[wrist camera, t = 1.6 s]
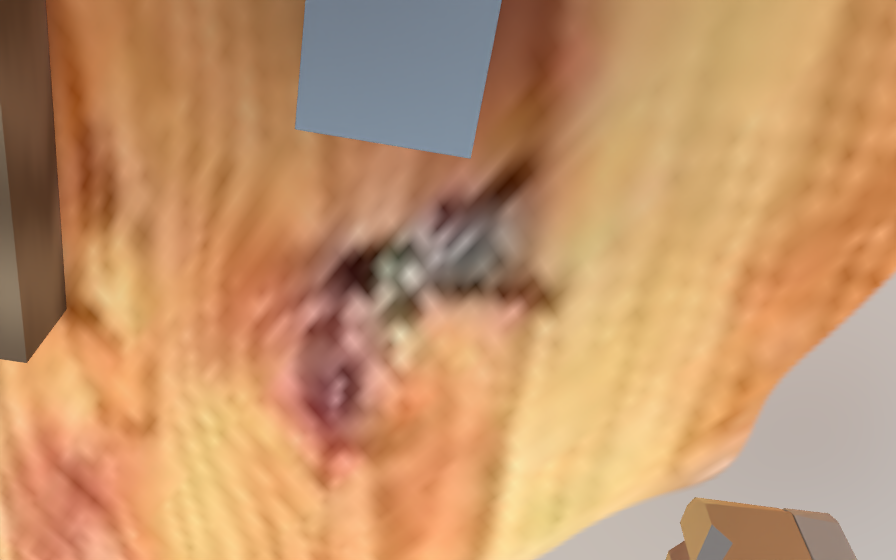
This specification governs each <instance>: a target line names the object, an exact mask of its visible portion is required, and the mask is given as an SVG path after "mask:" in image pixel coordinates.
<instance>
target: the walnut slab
mask: <svg viewBox="0 0 896 560" xmlns="http://www.w3.org/2000/svg"><path fill="white" fill-rule="evenodd" d="M65 311H66V294H65V279H64V264H63V249H62V235H61V220H60V205H59V190H58V175H57V160H56V145H55V130H54V116H53V101H52V86H51V71H50V56H49V41H48V26H47V11H46V0H0V359H4V360H10V361H17V362H24V363H27V362H28V361H29V359H30V358H31V357H32V355H33V354H34V353H35V351H36V350H37V348H38V347H39V346H40V344H41V343H42V342H43V340H44V339H45V338H46V336H47V335H48V334H49V332H50V331H51V330H52V328H53V327H54V325H55V324H56V323H57V321H58V320H59V319H60V317H61V316H62V315H63V313H64V312H65Z"/></svg>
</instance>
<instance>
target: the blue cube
mask: <svg viewBox="0 0 896 560" xmlns="http://www.w3.org/2000/svg"><path fill="white" fill-rule="evenodd" d="M501 2H502V0H306V1H305V13H304V25H303V38H302V50H301V62H300V74H299V87H298V99H297V111H296V123H295V129H296V130H302V131H308V132H314V133H320V134H326V135H332V136H338V137H344V138H350V139H356V140H362V141H368V142H374V143H380V144H386V145H392V146H398V147H404V148H410V149H416V150H422V151H428V152H434V153H440V154H446V155H452V156H458V157H464V158H470V159H471V153H472V148H473V143H474V138H475V133H476V128H477V123H478V118H479V113H480V108H481V103H482V98H483V93H484V88H485V83H486V78H487V73H488V68H489V62H490V57H491V52H492V47H493V42H494V37H495V32H496V27H497V22H498V17H499V12H500V7H501Z"/></svg>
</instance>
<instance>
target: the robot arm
mask: <svg viewBox="0 0 896 560" xmlns="http://www.w3.org/2000/svg"><path fill="white" fill-rule="evenodd" d="M680 524H681V527H682V531H683V535H684V539H685V541H683V542H682V543H680V544H679V545H677V546H675V547H674V548H672V549H671V550H669V552H668V554H667V557H666V560H857V558H856V556H855V554H854V552H853V551H852V549H851V547H850V545H849V543H848V541H847V539H846V537H845V535H844V533H843V531H842V529H841V527H840V525H839V523H838V522H837V520H836V519H834V518H833V517H832V516H831V515H830V514H828V513H820V512H811V511H802V510H795V509H786V508H784V509H779V508H773V507H765V506H757V505H750V504H742V503H735V502H727V501H719V500H712V499H704V498H696V497H695V498H694V499H693V500H692V501H691V502H690V503H689V504H688V505H687V507H686V510H685V512H684V515H683V517H682V519H681V522H680Z"/></svg>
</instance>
